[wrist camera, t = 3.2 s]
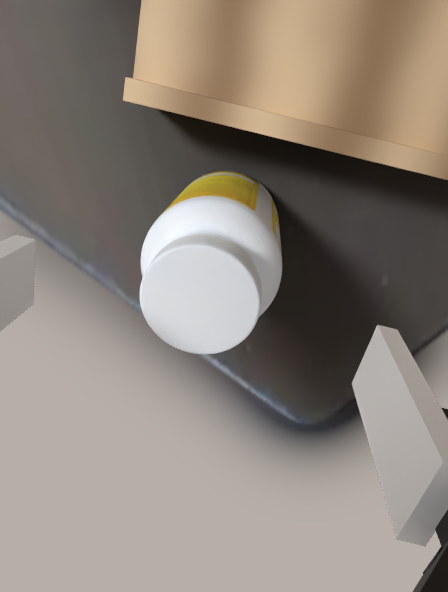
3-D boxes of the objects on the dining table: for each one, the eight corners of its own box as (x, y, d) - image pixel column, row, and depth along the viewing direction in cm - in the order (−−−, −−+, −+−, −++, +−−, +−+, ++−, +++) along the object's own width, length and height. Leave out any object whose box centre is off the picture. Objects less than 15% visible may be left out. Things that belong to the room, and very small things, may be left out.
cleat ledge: (146, 99, 24) (123, 100, 20) (179, -163, 19) (156, -228, 15) (523, 192, 24) (571, 210, 20) (652, -47, 19) (746, -83, 15)
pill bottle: (159, 191, 26) (83, 254, 15) (258, 150, 24) (247, 190, 14) (201, 282, 28) (159, 390, 18) (293, 250, 27) (306, 349, 16)
